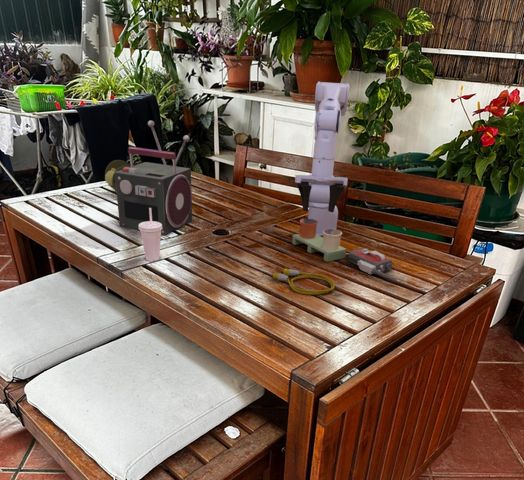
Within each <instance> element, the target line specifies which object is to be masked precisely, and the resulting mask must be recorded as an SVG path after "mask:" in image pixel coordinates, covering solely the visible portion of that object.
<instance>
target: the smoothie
mask: <svg viewBox="0 0 524 480" xmlns="http://www.w3.org/2000/svg"><path fill="white" fill-rule="evenodd" d="M149 214H150V221H146V222H142V223H140V224H139V225H138V226H139V228H138V229H139V230H138V231H139V232H140V237H141V242H142V246H143V252H144V255H145V259H146V261H149V262H156V261H159V260H160V256H161V255H160V254H161V241H162V234H161V229H162V224H161V223H159V222H155V221H152V212H151V208H149Z"/></svg>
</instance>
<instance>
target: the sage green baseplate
mask: <svg viewBox="0 0 524 480" xmlns="http://www.w3.org/2000/svg"><path fill="white" fill-rule="evenodd" d="M299 234H300V233H295V234H292V239H291V244H292V245H294V246H297V245H303V244H305V245H307V249H306V252H307V253H309V254H313V253H318V252H320V253H322V254H323V261H324V262H327V263H328V262H333V261H338V260H342V259H346V257H345V254H347V248H345V247H343V246H341V245H340V246H339V249H338V250H326V249H324V248H322V243H323V236H318V235H316V237H315V238H312V239H306V238H302V237H300V236H299Z"/></svg>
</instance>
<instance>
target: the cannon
mask: <svg viewBox="0 0 524 480" xmlns="http://www.w3.org/2000/svg"><path fill="white" fill-rule="evenodd" d="M124 167H131V164H130V163H128V162H127V161H125V160H122V159H115V160H112V161H110V162H109V163H108V165H107V166H106V168H105V171H104V181H106V183H107V185H108V186H109V187H110V188H111V189H113V190H114V191H115V192H116V183H115V174H114V172H116V171H119V170H122V168H124Z"/></svg>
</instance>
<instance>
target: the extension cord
mask: <svg viewBox="0 0 524 480" xmlns="http://www.w3.org/2000/svg"><path fill="white" fill-rule="evenodd" d="M295 276H296V277H295ZM289 277H293V278H291V279H289ZM308 278H311V279H318V280H321V281H325V282H327V283H329V285H330V288H328V289H323V290H313V289H311V290H310V289H304V288H299V287H297V286H296V285H295V284H294V282H295V281H298V280H301V279H308ZM272 279H274V280H277V281H280V282H287V283H288V285H289V287H290V288H291V290H293V291H294V292H296V293H299V294H302V295H309V296H311V295H313V296H314V295H315V296H317V295H323V294H328V293H330V292H331V291H333V290H334V289H335V286H336V285H335V281H334V280H333V279H332V278H331V277H328V276H326V275H323V274H320V273H319V274H318V273H313V272H312V273H310V272H300V270H296V269H292V268H286V267H285V268H283V272H282V273H280V272H279V273H278V272H273V274H272Z"/></svg>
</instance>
